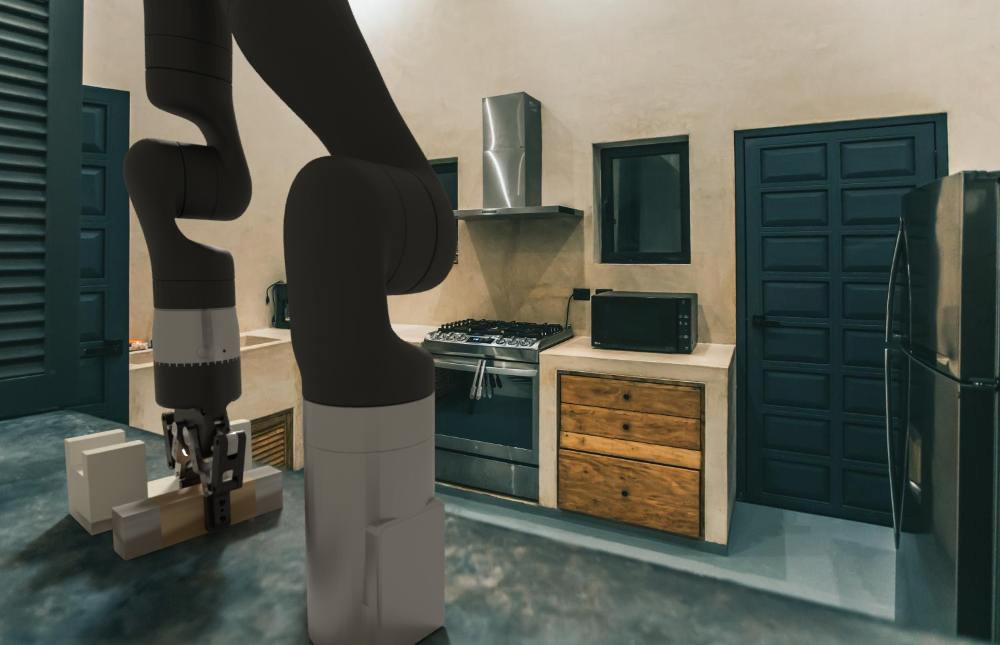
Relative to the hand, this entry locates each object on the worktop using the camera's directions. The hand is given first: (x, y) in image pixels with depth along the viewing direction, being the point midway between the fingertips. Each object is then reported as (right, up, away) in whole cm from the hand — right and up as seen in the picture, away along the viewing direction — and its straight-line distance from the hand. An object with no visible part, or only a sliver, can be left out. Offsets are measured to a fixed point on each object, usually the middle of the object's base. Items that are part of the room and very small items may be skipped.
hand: (205, 520), depth 57 cm
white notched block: (-8, 0, +6) cm, 10 cm away
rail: (0, -1, 0) cm, 1 cm away
